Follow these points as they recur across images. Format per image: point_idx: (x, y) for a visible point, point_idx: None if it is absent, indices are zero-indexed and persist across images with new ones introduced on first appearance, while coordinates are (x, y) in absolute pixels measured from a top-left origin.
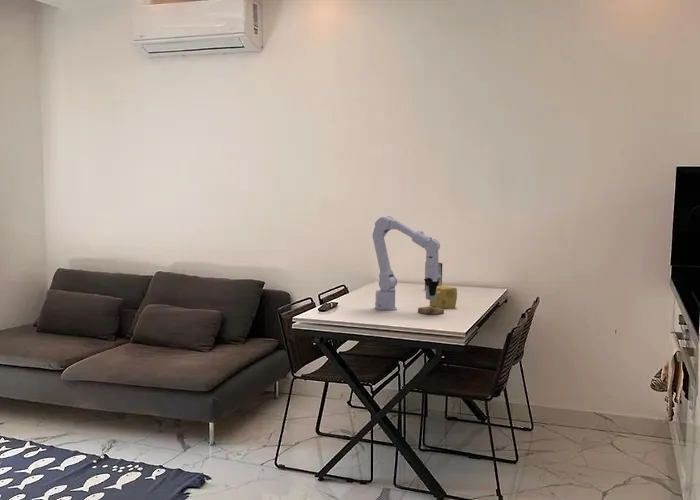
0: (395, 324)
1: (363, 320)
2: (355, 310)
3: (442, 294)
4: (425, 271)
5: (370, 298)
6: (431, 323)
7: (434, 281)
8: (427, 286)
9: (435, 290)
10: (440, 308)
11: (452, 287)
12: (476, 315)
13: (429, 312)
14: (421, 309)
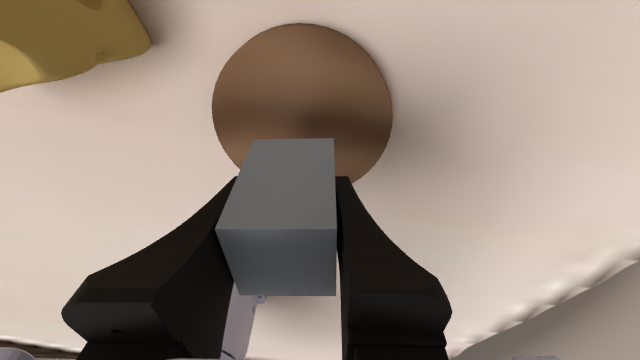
0: (543, 284)
1: None
2: (278, 336)
3: (18, 9)
4: None
5: (7, 293)
6: (614, 172)
7: (438, 348)
8: (303, 294)
9: (363, 209)
10: (263, 48)
11: None
12: None
13: (383, 147)
14: None
